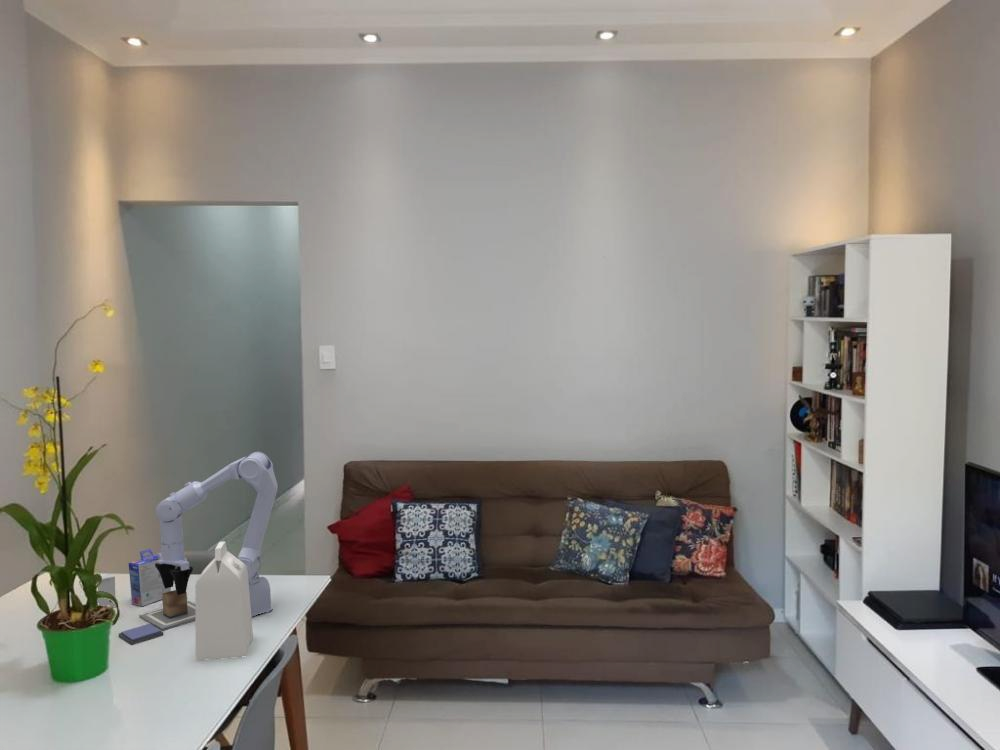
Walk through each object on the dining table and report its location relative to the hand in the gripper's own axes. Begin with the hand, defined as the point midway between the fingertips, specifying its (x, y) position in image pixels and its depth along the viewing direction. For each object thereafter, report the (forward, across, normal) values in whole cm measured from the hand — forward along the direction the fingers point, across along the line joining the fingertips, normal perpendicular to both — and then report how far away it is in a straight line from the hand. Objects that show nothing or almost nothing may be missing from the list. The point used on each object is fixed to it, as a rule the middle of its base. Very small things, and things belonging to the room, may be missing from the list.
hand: (175, 590), depth 215 cm
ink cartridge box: (+7, -18, +1) cm, 20 cm away
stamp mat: (+7, 0, 0) cm, 7 cm away
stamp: (+7, 0, 0) cm, 7 cm away
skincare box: (+7, -13, -14) cm, 21 cm away
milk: (+8, +30, -2) cm, 31 cm away
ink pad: (+7, +6, -12) cm, 15 cm away
